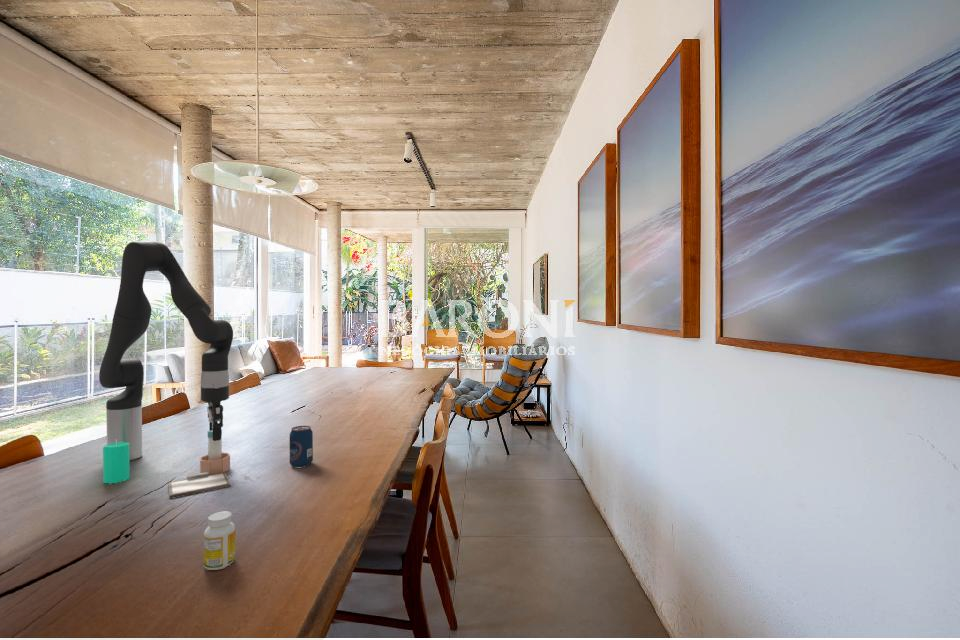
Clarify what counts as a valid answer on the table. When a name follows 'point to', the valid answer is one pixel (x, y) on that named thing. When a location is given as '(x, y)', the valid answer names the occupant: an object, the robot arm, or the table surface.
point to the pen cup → (215, 464)
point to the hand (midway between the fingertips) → (215, 436)
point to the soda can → (301, 446)
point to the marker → (214, 447)
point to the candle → (116, 462)
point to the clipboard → (198, 484)
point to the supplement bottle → (219, 540)
